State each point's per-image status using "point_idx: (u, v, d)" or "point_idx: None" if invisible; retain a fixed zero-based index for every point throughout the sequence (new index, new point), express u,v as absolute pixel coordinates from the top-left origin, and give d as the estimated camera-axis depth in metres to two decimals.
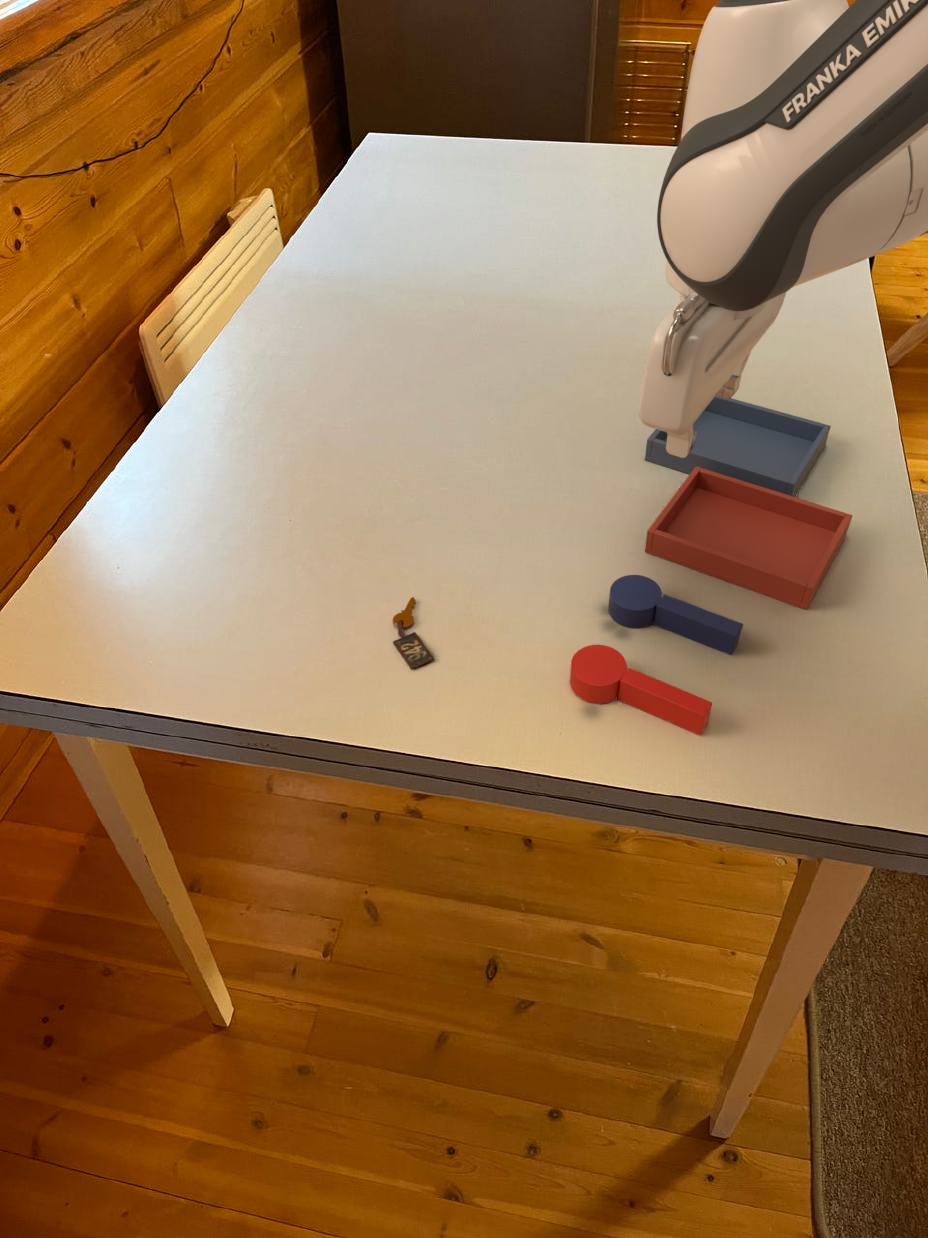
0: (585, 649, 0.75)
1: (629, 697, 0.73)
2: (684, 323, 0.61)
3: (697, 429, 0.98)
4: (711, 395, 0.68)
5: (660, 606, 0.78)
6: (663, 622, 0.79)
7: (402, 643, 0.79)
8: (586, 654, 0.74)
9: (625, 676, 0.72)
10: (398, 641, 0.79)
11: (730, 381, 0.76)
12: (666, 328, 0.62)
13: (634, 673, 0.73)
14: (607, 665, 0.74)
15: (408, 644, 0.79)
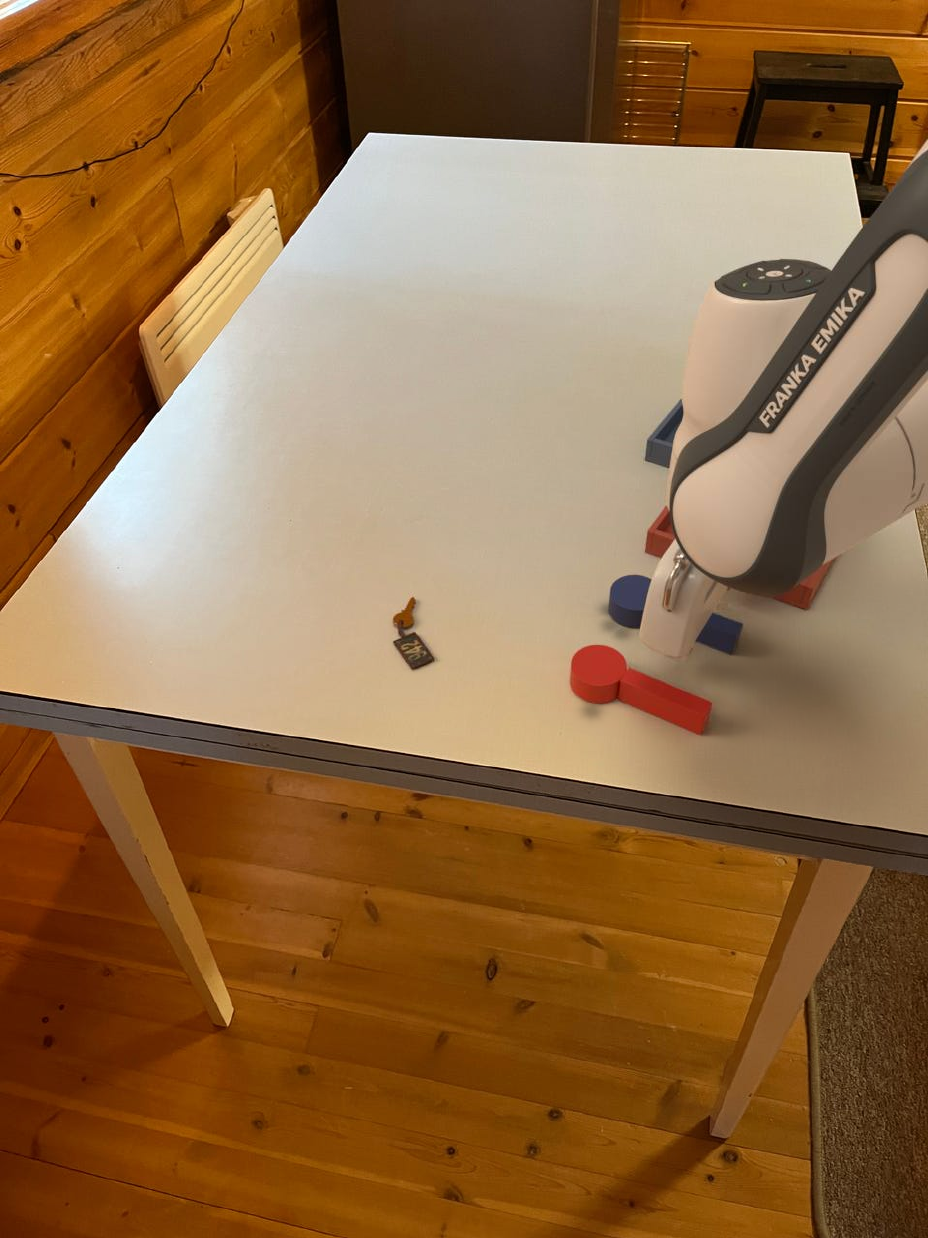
0: (585, 649, 0.75)
1: (629, 697, 0.73)
2: (684, 567, 0.63)
3: None
4: (709, 614, 0.69)
5: None
6: None
7: (402, 643, 0.79)
8: (586, 654, 0.74)
9: (625, 676, 0.72)
10: (398, 641, 0.79)
11: None
12: (666, 567, 0.64)
13: (634, 673, 0.73)
14: (607, 665, 0.74)
15: (408, 644, 0.79)
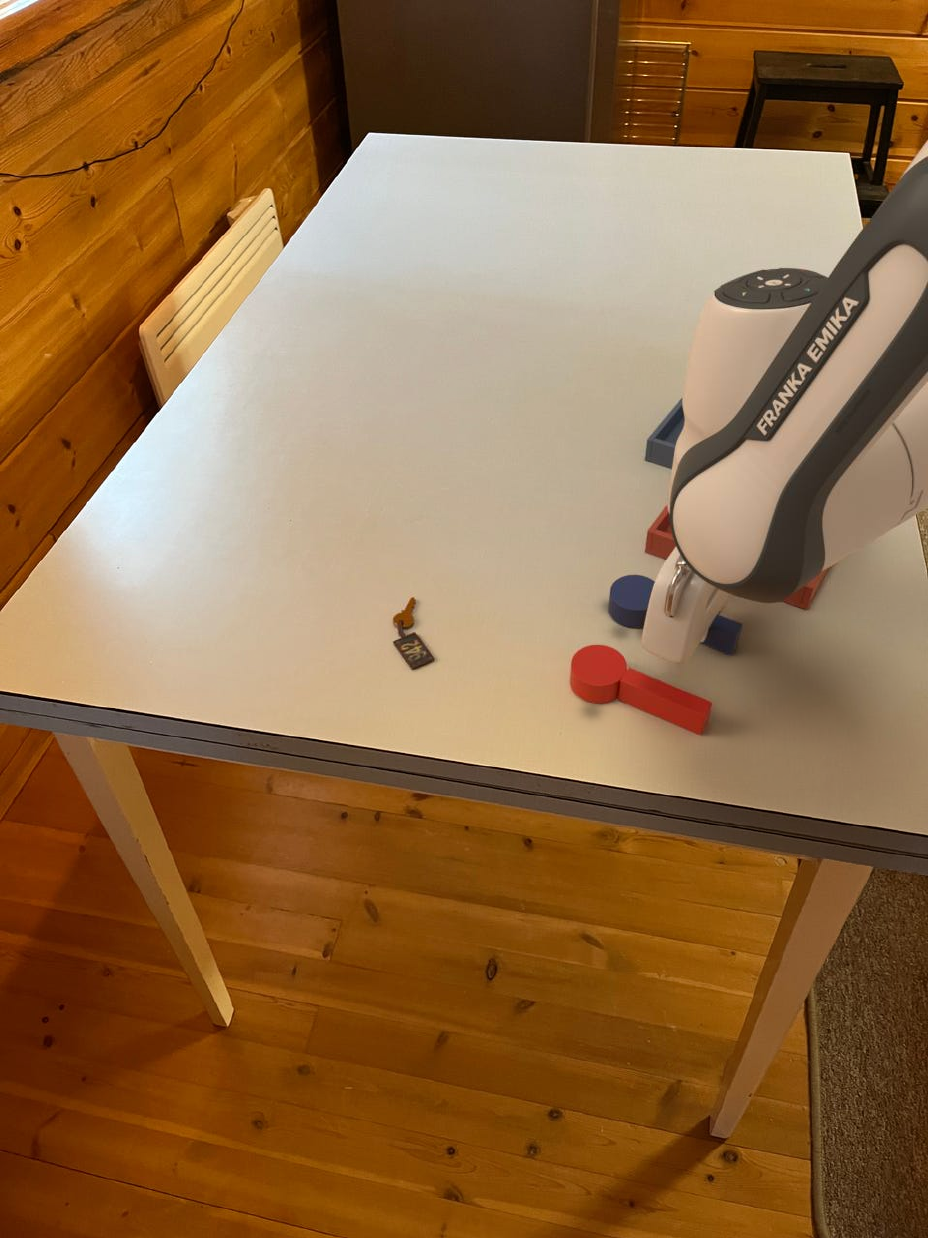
0: (585, 649, 0.75)
1: (629, 697, 0.73)
2: (685, 573, 0.63)
3: None
4: (712, 620, 0.70)
5: None
6: None
7: (403, 643, 0.79)
8: (586, 654, 0.74)
9: (625, 676, 0.72)
10: (398, 641, 0.79)
11: None
12: (668, 573, 0.64)
13: (634, 673, 0.73)
14: (607, 665, 0.74)
15: (408, 644, 0.79)
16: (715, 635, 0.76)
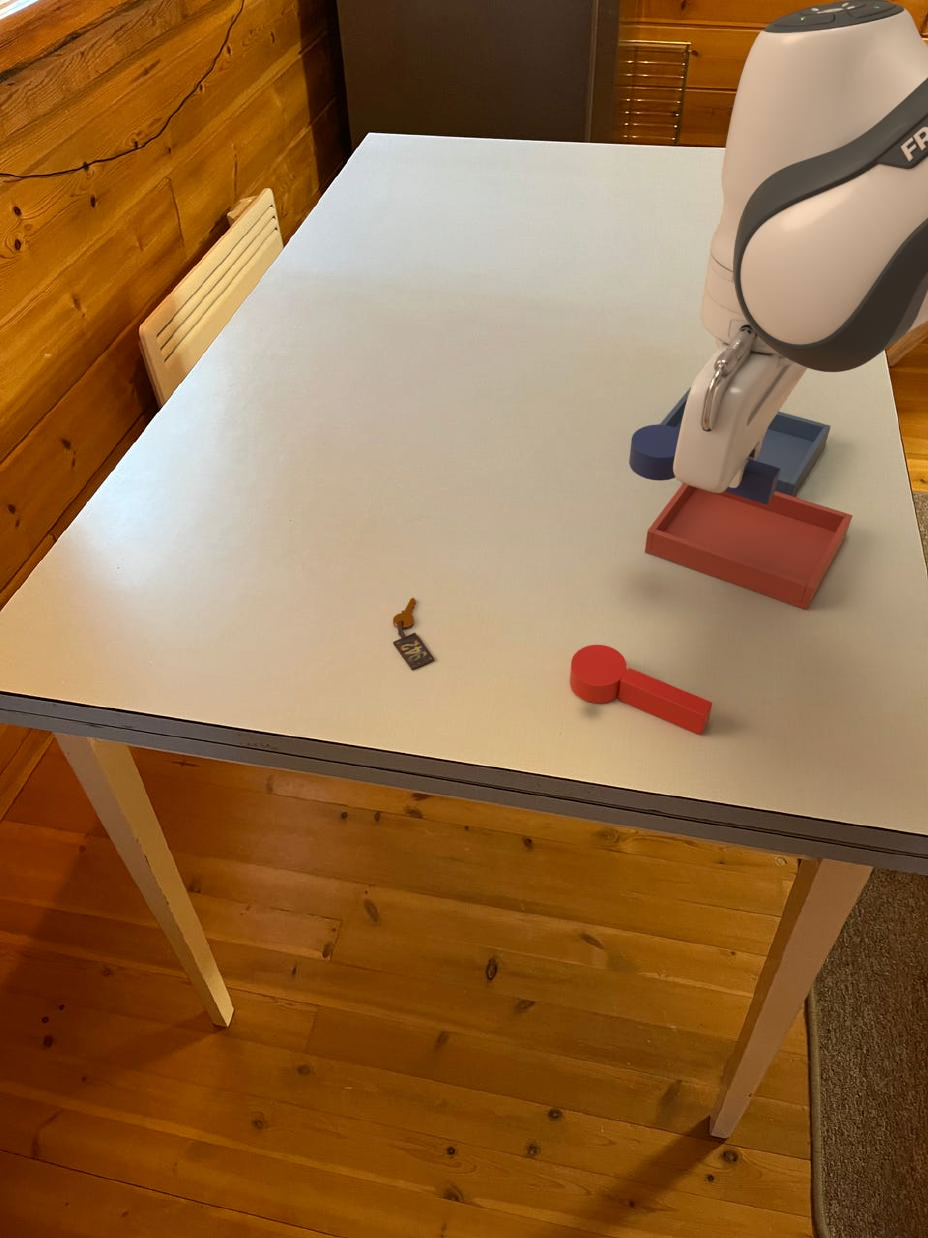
0: (585, 649, 0.75)
1: (629, 697, 0.73)
2: (726, 375, 0.56)
3: None
4: (750, 448, 0.62)
5: None
6: None
7: (403, 643, 0.79)
8: (586, 654, 0.74)
9: (625, 676, 0.72)
10: (398, 641, 0.79)
11: None
12: (705, 380, 0.57)
13: (634, 673, 0.73)
14: (607, 665, 0.74)
15: (408, 645, 0.79)
16: (749, 481, 0.69)
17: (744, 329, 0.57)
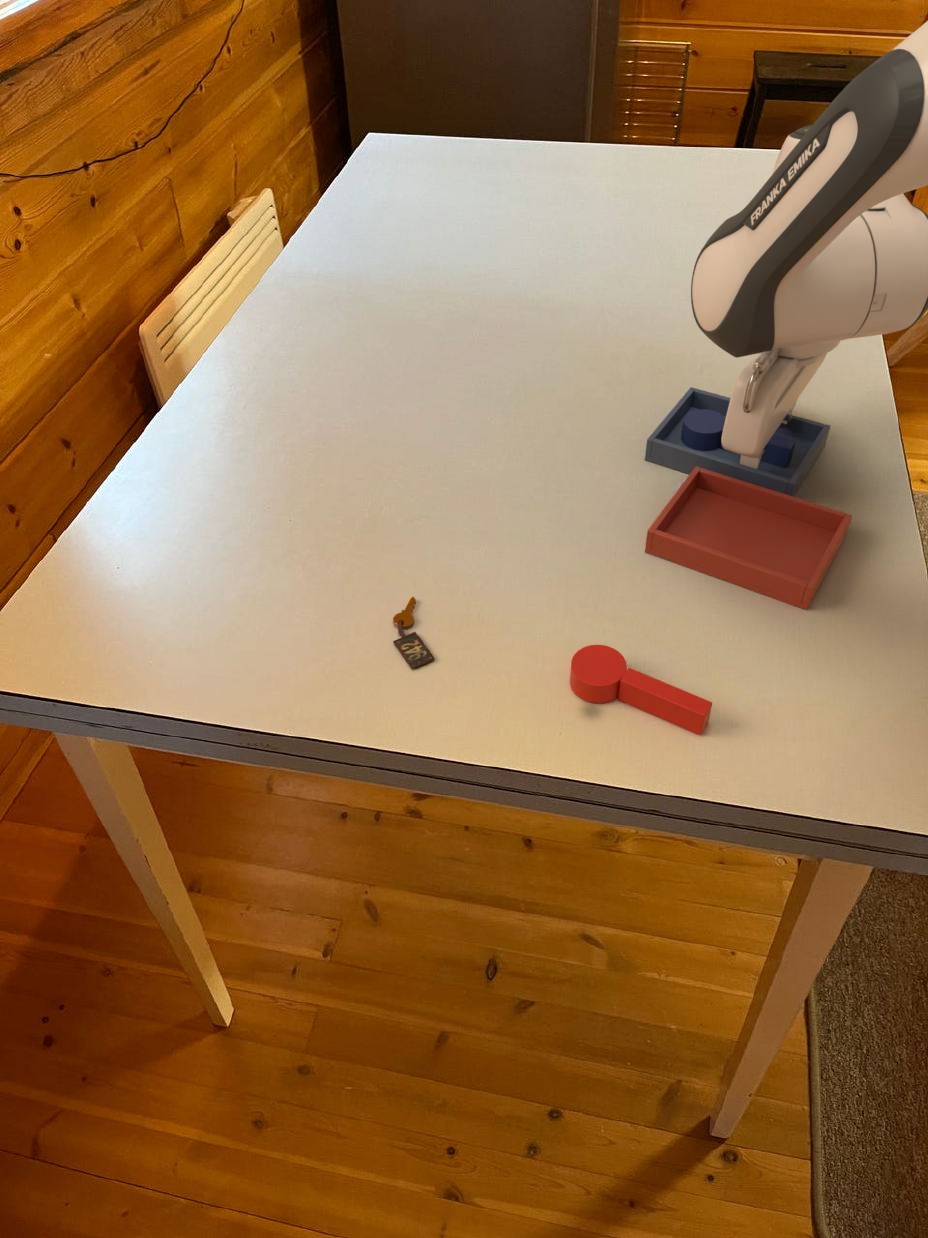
0: (585, 649, 0.75)
1: (629, 697, 0.73)
2: (761, 373, 0.79)
3: None
4: (777, 426, 0.86)
5: None
6: None
7: (403, 643, 0.79)
8: (586, 654, 0.74)
9: (625, 676, 0.72)
10: (398, 641, 0.79)
11: None
12: (746, 376, 0.81)
13: (634, 673, 0.73)
14: (607, 665, 0.74)
15: (408, 644, 0.79)
16: (773, 450, 0.92)
17: None
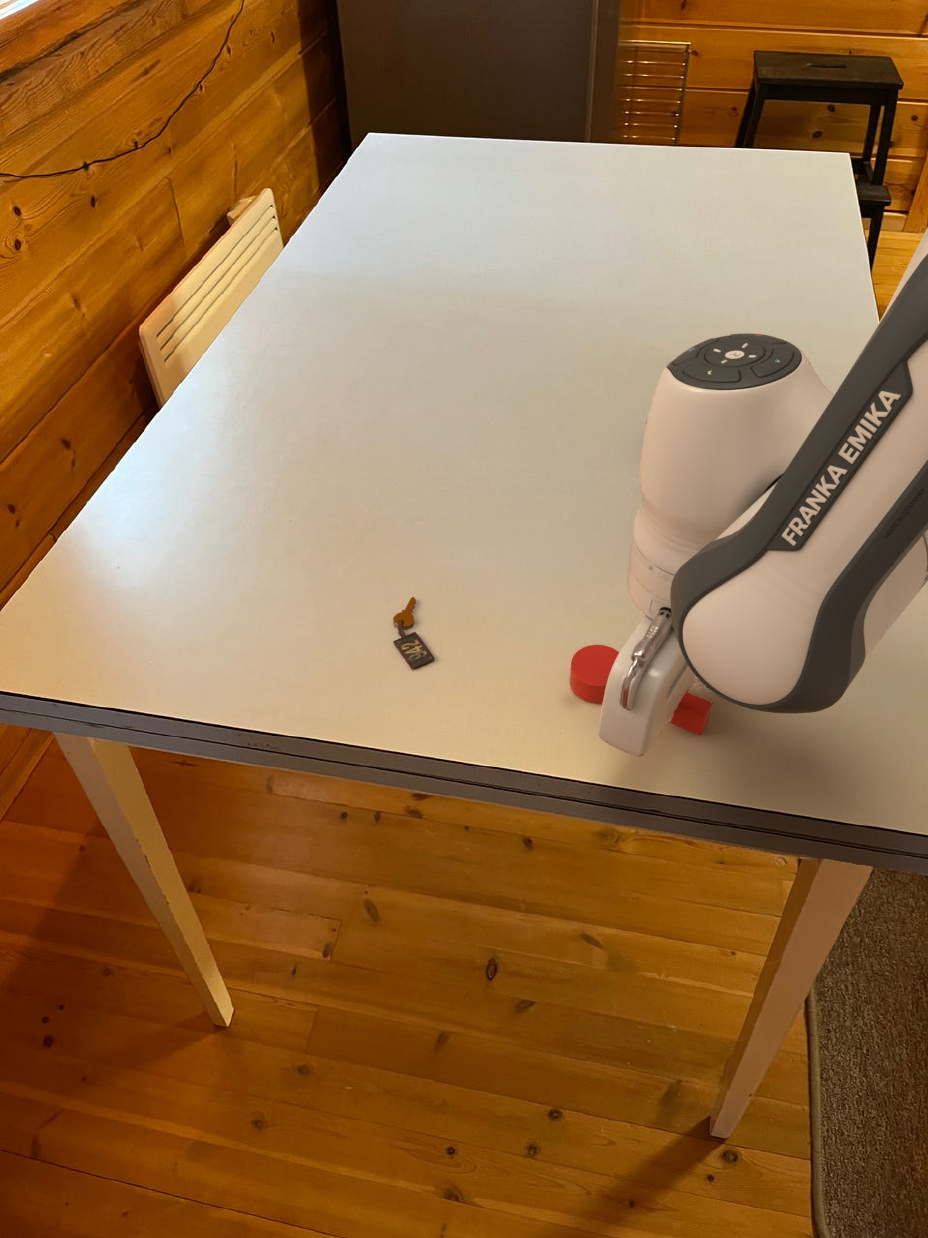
0: (585, 649, 0.75)
1: None
2: (643, 664, 0.58)
3: None
4: (675, 706, 0.64)
5: None
6: None
7: (403, 643, 0.79)
8: (586, 654, 0.74)
9: None
10: (398, 641, 0.79)
11: None
12: (624, 663, 0.59)
13: None
14: (607, 665, 0.74)
15: (408, 644, 0.79)
16: None
17: (663, 612, 0.59)
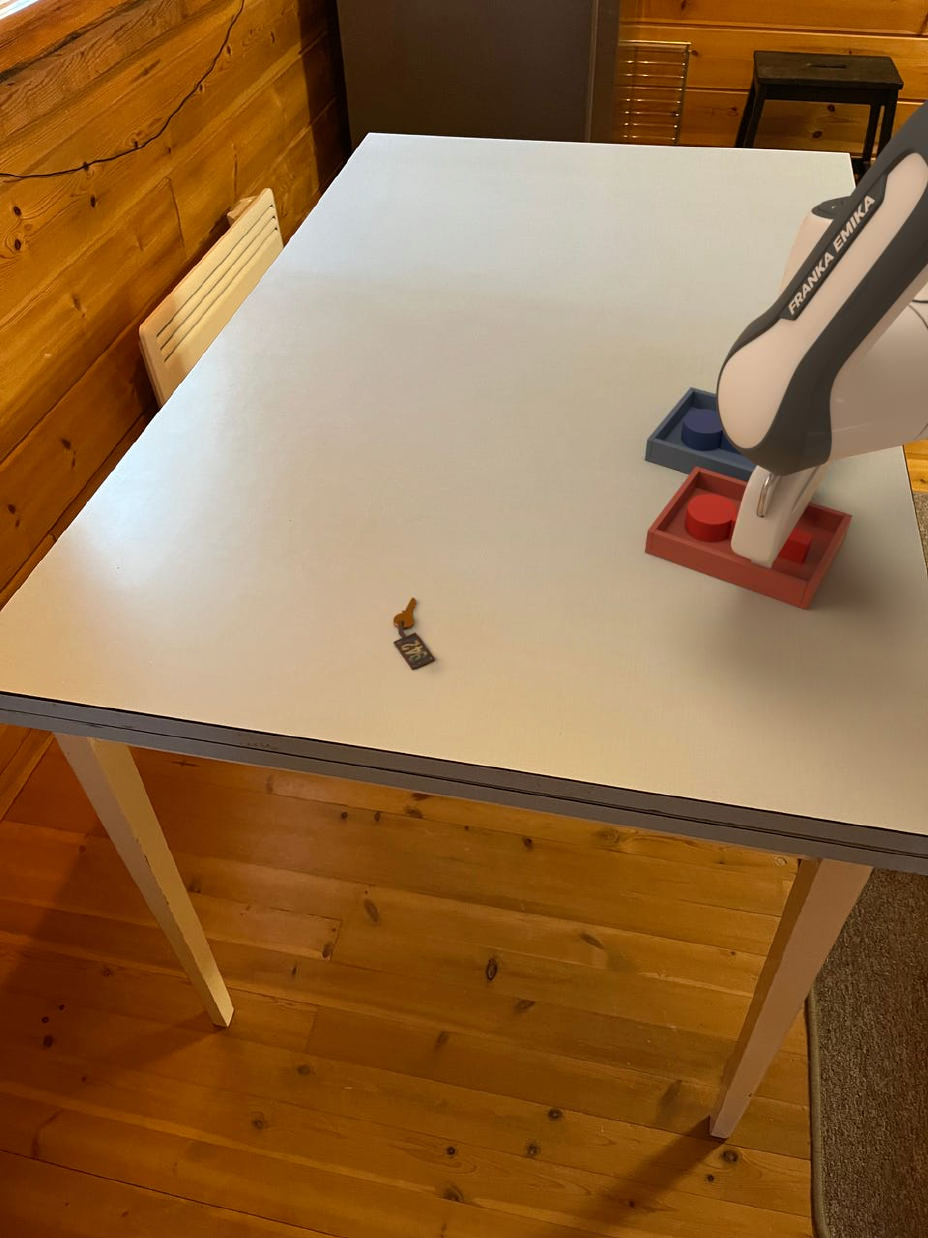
0: (698, 497, 0.87)
1: None
2: (777, 474, 0.70)
3: None
4: (793, 526, 0.76)
5: None
6: (728, 444, 0.95)
7: (403, 643, 0.79)
8: (700, 501, 0.86)
9: (736, 516, 0.84)
10: (398, 641, 0.79)
11: None
12: (760, 476, 0.71)
13: None
14: (719, 509, 0.85)
15: (408, 645, 0.79)
16: None
17: None
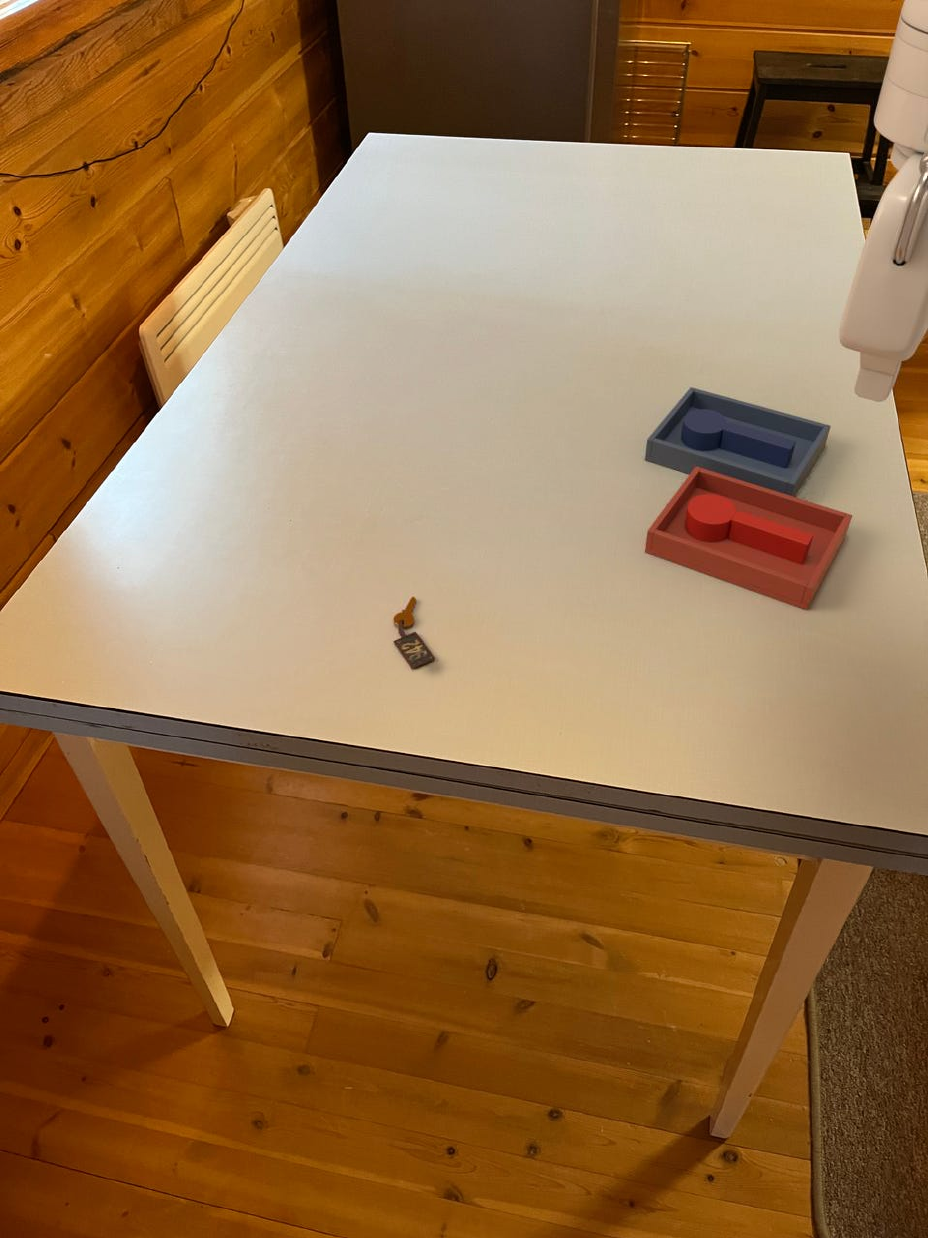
0: (698, 497, 0.87)
1: (739, 535, 0.85)
2: None
3: None
4: None
5: (726, 429, 0.94)
6: (728, 444, 0.95)
7: (403, 643, 0.79)
8: (700, 501, 0.86)
9: (736, 516, 0.84)
10: (398, 641, 0.79)
11: None
12: (900, 191, 0.41)
13: (743, 514, 0.85)
14: (719, 509, 0.85)
15: (408, 644, 0.79)
16: (773, 450, 0.92)
17: None
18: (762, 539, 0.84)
